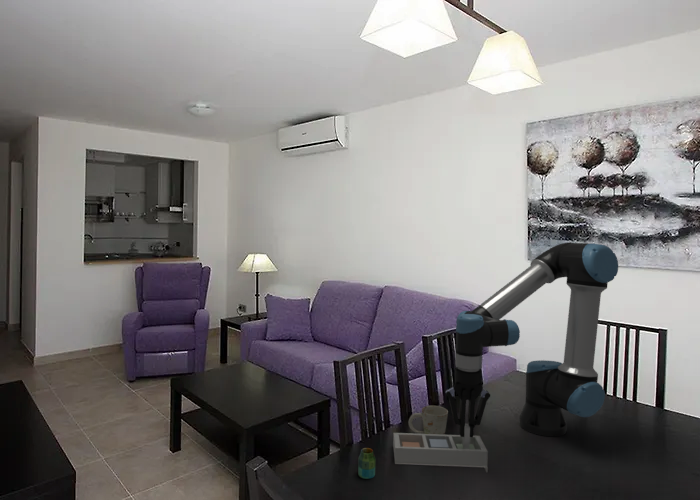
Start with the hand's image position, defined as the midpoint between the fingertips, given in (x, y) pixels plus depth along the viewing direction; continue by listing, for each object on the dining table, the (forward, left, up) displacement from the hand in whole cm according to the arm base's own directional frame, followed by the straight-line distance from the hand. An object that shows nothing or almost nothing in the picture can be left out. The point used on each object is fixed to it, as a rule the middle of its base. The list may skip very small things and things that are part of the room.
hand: (465, 447), depth 137 cm
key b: (+8, 0, -2) cm, 8 cm away
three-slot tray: (+8, 0, -5) cm, 9 cm away
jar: (+29, +12, -5) cm, 32 cm away
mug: (+9, -14, -5) cm, 17 cm away
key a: (0, 0, -3) cm, 3 cm away
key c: (+16, 0, -3) cm, 16 cm away
